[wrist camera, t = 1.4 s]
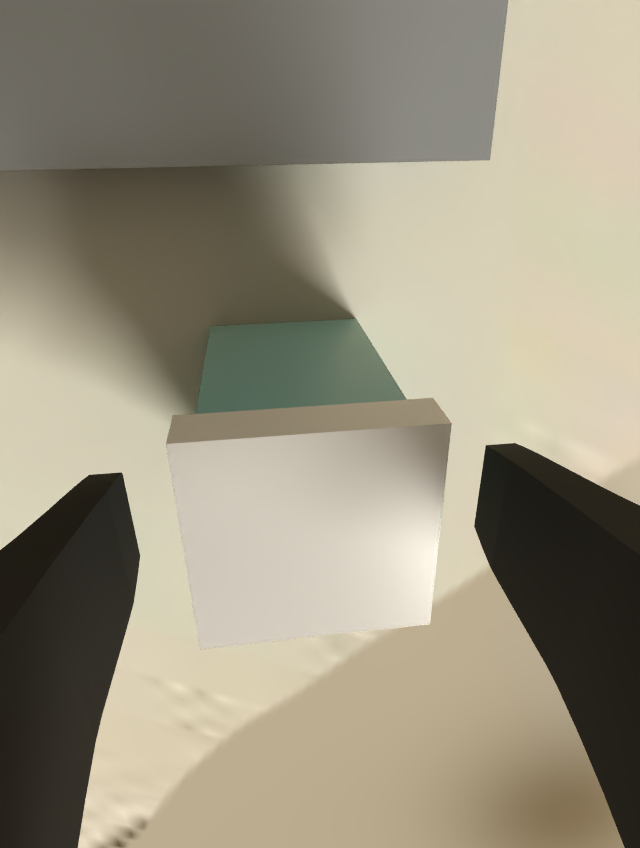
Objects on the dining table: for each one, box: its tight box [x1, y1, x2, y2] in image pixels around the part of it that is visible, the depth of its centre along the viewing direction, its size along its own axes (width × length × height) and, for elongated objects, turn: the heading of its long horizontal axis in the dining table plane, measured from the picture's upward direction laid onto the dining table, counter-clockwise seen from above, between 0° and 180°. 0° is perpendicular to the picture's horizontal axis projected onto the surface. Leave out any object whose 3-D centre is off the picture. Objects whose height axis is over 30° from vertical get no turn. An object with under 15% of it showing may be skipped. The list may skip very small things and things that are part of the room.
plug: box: [166, 319, 451, 650], centre depth 13 cm, size 5×5×7 cm
